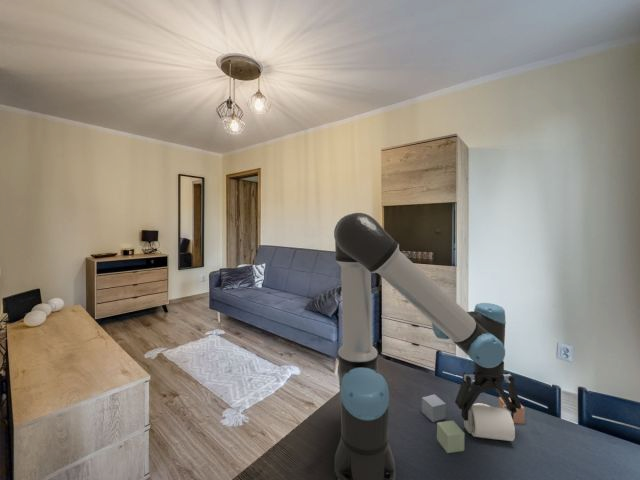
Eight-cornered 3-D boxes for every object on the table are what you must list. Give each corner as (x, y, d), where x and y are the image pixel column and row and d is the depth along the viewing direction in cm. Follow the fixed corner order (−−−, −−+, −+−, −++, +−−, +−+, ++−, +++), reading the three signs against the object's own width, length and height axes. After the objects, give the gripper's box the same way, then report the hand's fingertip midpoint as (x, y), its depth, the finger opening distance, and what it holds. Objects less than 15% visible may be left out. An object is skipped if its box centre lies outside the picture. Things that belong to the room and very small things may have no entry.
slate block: (432, 422, 86) (432, 407, 86) (421, 412, 91) (422, 397, 91) (445, 418, 88) (445, 403, 88) (434, 408, 93) (434, 394, 92)
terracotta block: (506, 422, 86) (506, 406, 86) (498, 411, 91) (498, 396, 91) (524, 424, 85) (524, 408, 85) (515, 413, 90) (515, 398, 90)
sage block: (447, 453, 75) (447, 435, 75) (436, 439, 80) (437, 422, 79) (464, 450, 76) (464, 433, 75) (452, 437, 81) (452, 420, 80)
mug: (515, 448, 76) (515, 420, 76) (475, 443, 78) (476, 416, 77) (496, 418, 88) (496, 393, 87) (462, 414, 90) (462, 390, 89)
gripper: (454, 364, 78) (453, 439, 79) (538, 363, 77) (536, 439, 78) (443, 351, 85) (442, 420, 86) (519, 351, 85) (517, 420, 86)
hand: (486, 429), depth 82 cm, fingers closed on mug, 11 cm apart
